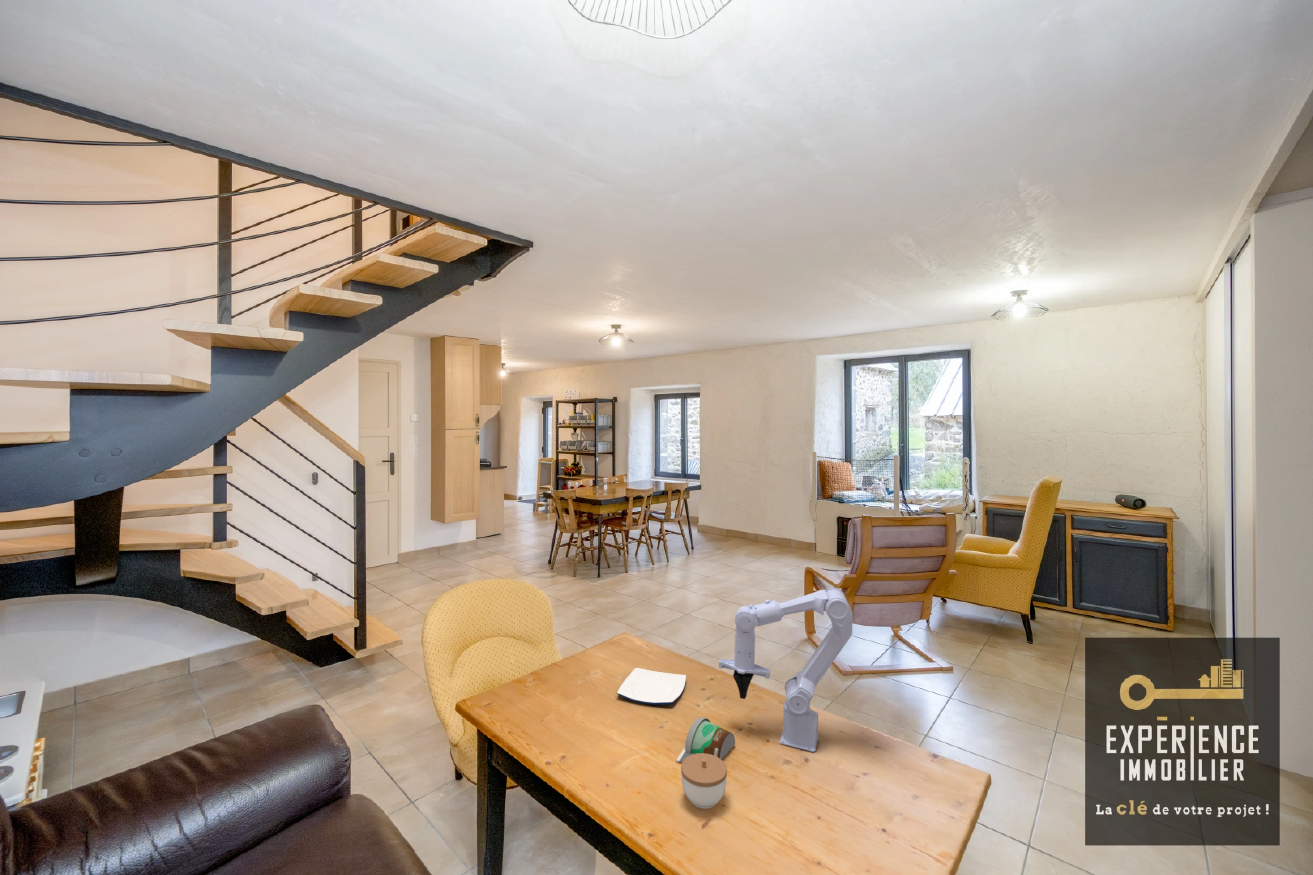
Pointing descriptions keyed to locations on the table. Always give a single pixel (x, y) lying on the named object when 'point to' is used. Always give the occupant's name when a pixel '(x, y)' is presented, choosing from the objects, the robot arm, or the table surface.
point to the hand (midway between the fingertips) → (743, 697)
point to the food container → (708, 739)
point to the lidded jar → (703, 779)
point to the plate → (652, 687)
